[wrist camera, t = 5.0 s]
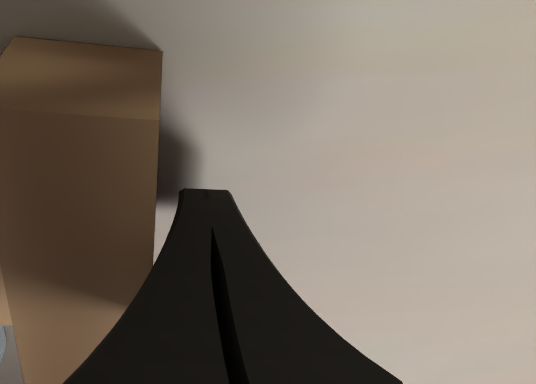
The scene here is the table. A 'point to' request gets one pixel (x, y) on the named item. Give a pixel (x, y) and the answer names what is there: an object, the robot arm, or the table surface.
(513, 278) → the table surface
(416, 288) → the table surface
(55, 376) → the t block
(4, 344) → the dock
